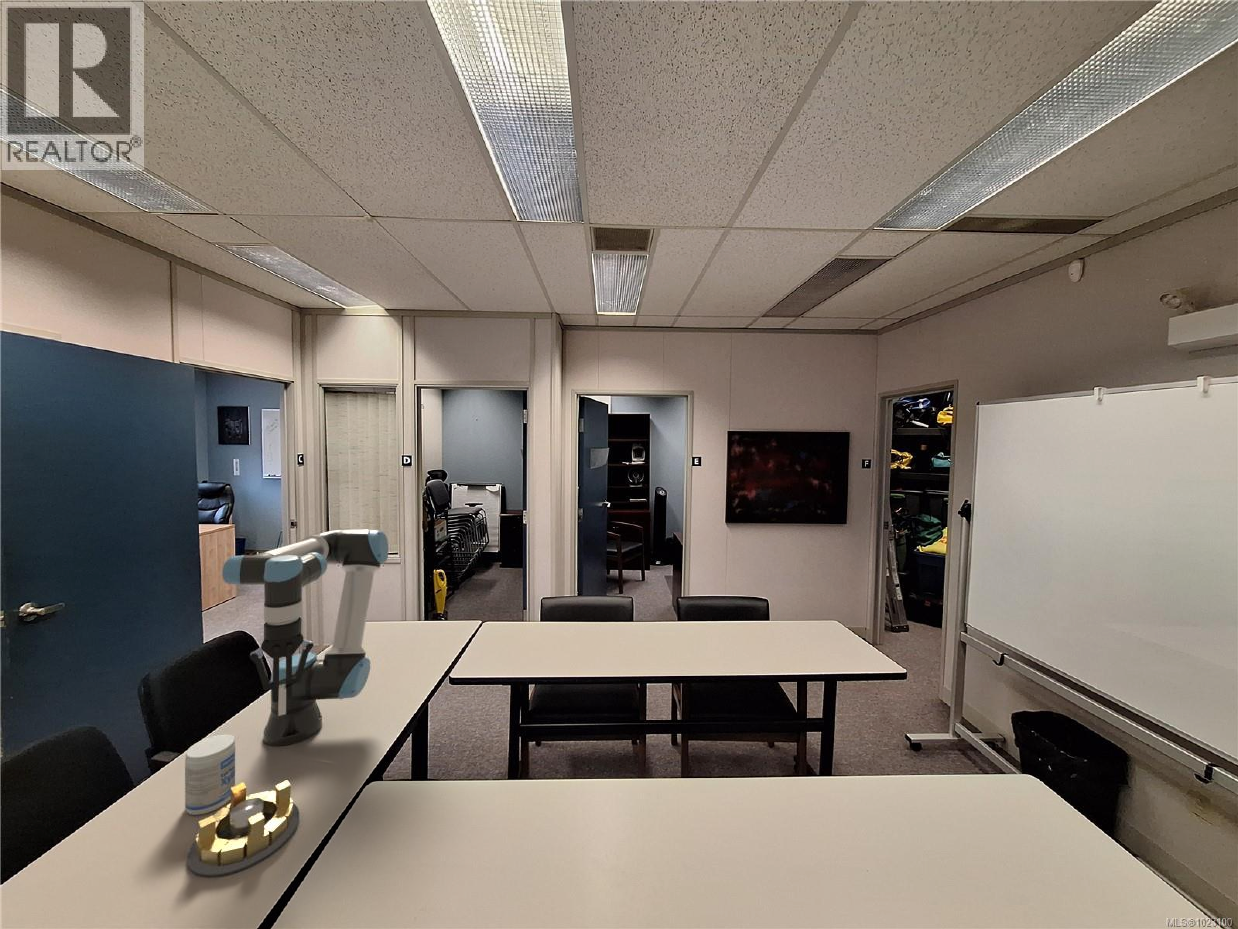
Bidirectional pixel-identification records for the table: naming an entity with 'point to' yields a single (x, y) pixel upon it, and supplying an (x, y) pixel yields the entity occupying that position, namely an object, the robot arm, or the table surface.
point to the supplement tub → (209, 774)
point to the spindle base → (246, 861)
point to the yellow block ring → (258, 833)
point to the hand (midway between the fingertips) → (282, 712)
